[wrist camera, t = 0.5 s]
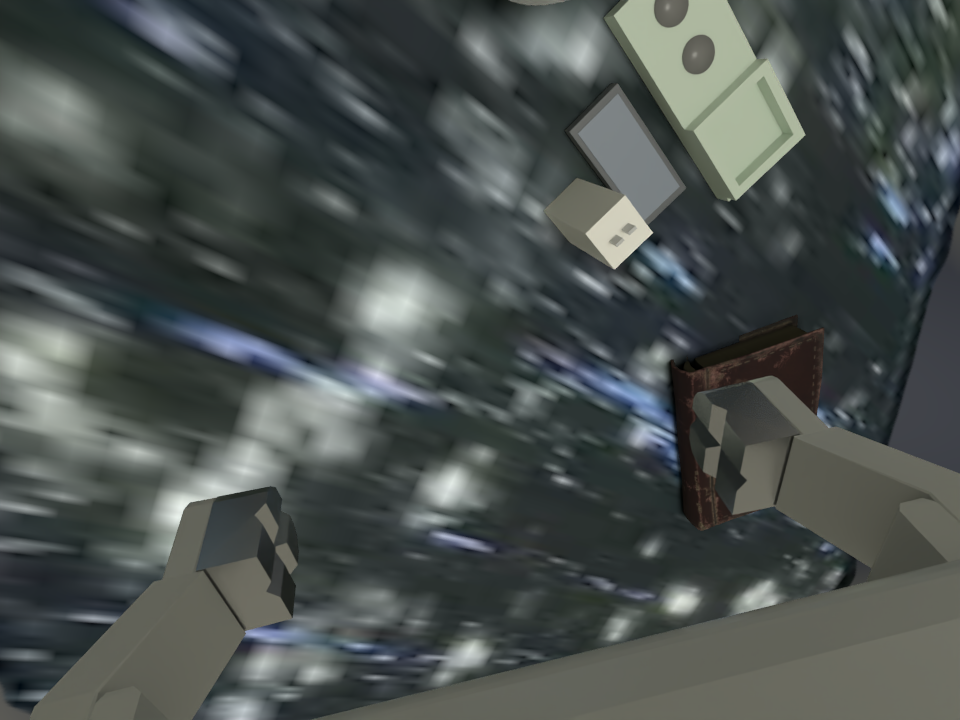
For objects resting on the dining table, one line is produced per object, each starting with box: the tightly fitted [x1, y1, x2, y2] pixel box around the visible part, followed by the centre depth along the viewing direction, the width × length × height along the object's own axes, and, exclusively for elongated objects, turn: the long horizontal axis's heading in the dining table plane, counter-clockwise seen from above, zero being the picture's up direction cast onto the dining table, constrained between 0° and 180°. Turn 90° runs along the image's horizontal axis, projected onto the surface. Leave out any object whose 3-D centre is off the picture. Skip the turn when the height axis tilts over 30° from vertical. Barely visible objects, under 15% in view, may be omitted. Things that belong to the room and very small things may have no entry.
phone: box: [565, 83, 686, 225], centre depth 57 cm, size 13×6×1 cm, turn 42°
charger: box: [544, 178, 653, 269], centre depth 54 cm, size 4×4×11 cm
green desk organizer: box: [604, 0, 805, 201], centre depth 55 cm, size 22×9×4 cm, turn 42°
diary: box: [671, 315, 824, 531], centre depth 75 cm, size 19×25×5 cm
